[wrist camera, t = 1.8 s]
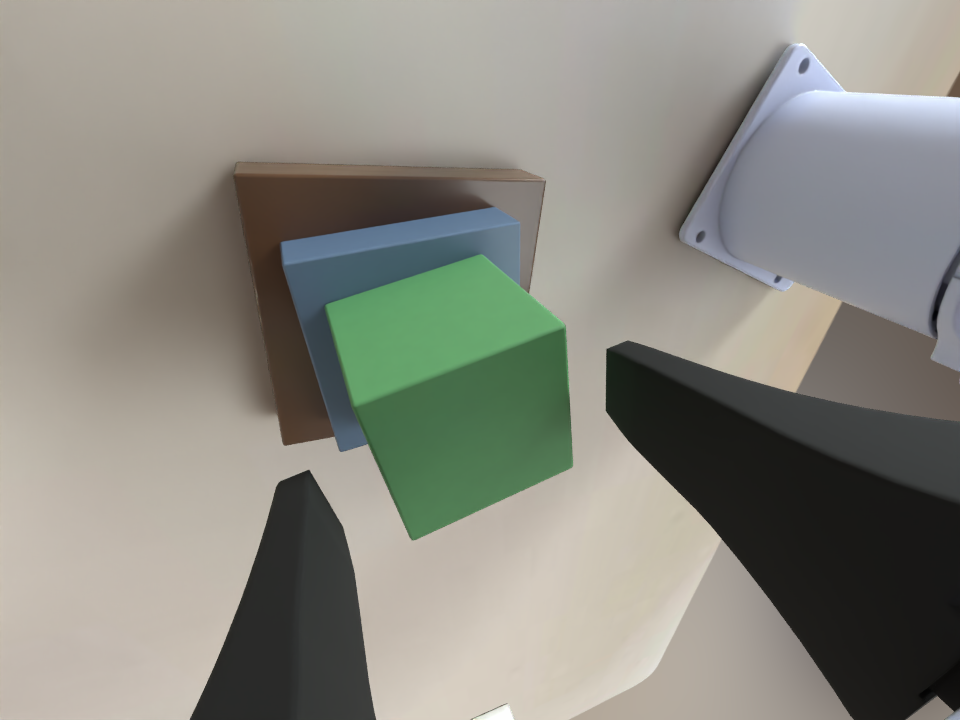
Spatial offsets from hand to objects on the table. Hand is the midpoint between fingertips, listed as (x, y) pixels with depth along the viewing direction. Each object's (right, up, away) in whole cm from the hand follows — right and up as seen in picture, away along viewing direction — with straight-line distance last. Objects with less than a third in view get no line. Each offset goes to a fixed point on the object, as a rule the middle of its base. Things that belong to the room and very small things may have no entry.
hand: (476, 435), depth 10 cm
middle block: (-2, +3, +5) cm, 6 cm away
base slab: (-3, +4, +6) cm, 8 cm away
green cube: (-2, +2, +3) cm, 4 cm away
